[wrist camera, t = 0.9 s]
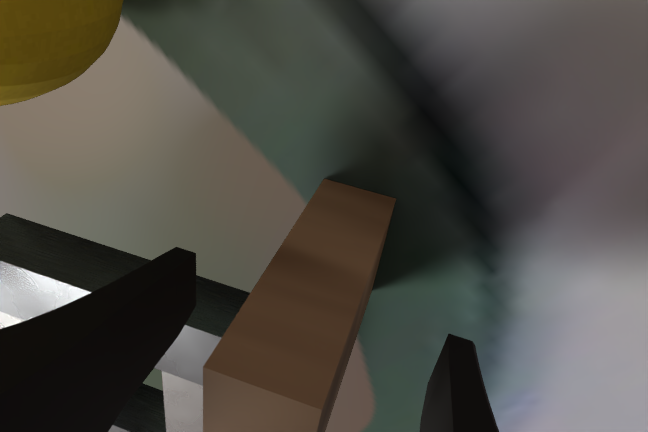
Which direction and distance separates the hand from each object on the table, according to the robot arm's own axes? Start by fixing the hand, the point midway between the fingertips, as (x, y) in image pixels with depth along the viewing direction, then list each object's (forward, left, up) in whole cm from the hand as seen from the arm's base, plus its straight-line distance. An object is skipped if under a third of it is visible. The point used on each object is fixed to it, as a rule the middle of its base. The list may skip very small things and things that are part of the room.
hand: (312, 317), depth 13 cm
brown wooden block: (0, 0, -4) cm, 4 cm away
